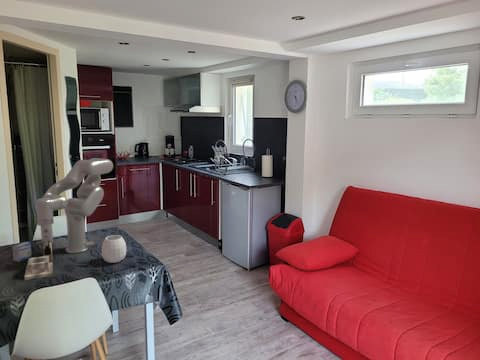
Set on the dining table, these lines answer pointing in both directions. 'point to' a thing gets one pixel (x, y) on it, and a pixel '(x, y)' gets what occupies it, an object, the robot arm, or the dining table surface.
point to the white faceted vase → (113, 249)
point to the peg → (51, 253)
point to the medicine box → (21, 251)
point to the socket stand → (38, 268)
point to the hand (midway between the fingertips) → (48, 252)
